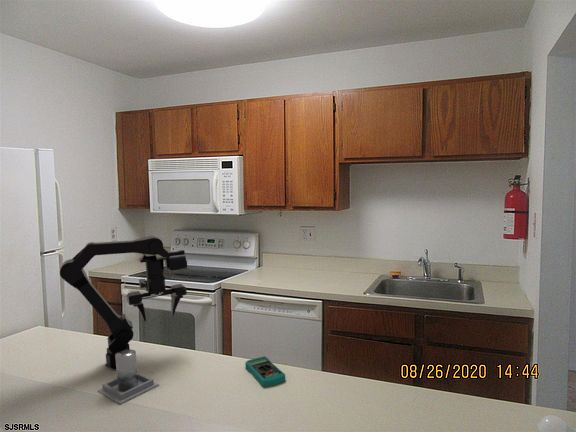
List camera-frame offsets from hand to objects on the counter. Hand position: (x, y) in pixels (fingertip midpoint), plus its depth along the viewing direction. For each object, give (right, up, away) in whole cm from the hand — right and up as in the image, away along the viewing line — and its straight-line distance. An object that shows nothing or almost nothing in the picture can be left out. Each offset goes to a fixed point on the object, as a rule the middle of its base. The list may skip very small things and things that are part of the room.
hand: (159, 318), depth 139 cm
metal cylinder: (-2, -15, -20) cm, 25 cm away
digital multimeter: (+37, -14, -15) cm, 42 cm away
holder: (-2, -15, -20) cm, 25 cm away
